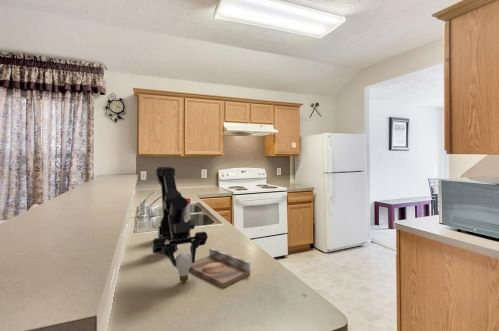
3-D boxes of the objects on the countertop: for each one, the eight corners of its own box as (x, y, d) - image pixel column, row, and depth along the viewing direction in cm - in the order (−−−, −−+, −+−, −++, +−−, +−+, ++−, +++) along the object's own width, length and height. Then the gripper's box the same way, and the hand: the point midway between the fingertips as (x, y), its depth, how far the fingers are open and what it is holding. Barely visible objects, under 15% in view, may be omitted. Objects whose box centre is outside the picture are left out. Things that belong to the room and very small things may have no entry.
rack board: (185, 268, 99) (184, 257, 99) (211, 258, 109) (211, 248, 109) (223, 287, 84) (223, 274, 84) (250, 274, 94) (250, 262, 94)
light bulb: (176, 278, 91) (176, 250, 91) (193, 277, 92) (193, 249, 91) (173, 286, 85) (172, 256, 85) (191, 285, 86) (190, 256, 85)
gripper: (152, 215, 87) (157, 259, 78) (205, 209, 95) (216, 248, 86) (150, 232, 94) (154, 274, 85) (200, 225, 103) (209, 263, 93)
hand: (184, 264), depth 87 cm, fingers closed on light bulb, 6 cm apart
